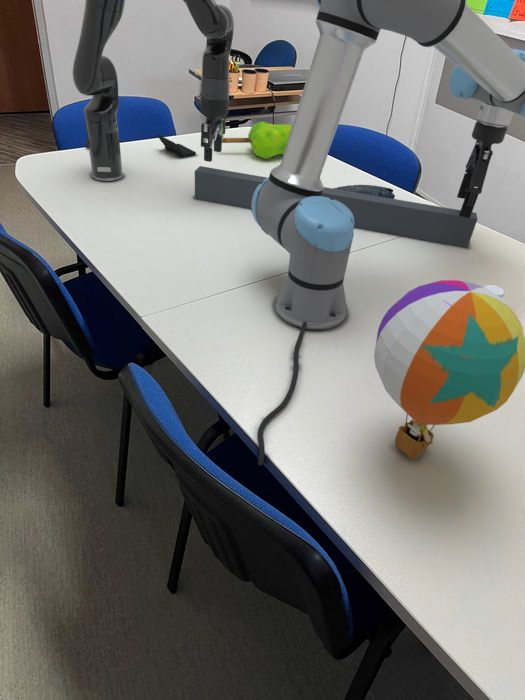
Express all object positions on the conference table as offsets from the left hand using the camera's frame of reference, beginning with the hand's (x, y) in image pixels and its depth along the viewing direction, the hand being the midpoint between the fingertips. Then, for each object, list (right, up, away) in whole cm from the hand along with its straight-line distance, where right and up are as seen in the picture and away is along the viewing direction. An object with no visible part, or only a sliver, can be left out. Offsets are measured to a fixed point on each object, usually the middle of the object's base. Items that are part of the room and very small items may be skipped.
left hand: (212, 156), depth 148 cm
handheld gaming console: (-16, +15, +37) cm, 43 cm away
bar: (+33, -17, +2) cm, 37 cm away
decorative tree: (+13, +16, +41) cm, 46 cm away
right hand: (+68, -17, -10) cm, 71 cm away
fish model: (+44, -9, +15) cm, 47 cm away
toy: (+38, -72, -65) cm, 104 cm away
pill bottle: (+62, -50, -35) cm, 87 cm away
